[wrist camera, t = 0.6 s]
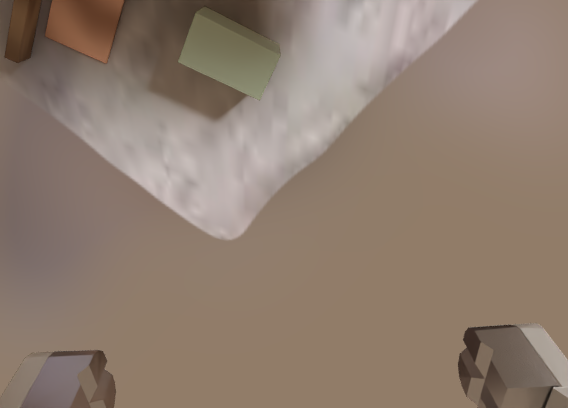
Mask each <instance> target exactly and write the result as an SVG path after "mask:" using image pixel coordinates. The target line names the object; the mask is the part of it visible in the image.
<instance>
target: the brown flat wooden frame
mask: <svg viewBox="0 0 568 408" xmlns="http://www.w3.org/2000/svg"><path fill="white" fill-rule="evenodd" d="M41 1H42V0H14V3H13V9H12V15H11V21H10V27H9V33H8V39H7V45H6V51H5V58H7V59H10V60H12V61H14V62H17V63H19V62H21V61H24V60H26V59H29V58H30V57H31V52H32V47H33V42H34V37H35V31H36V26H37V21H38V16H39V11H40V6H41ZM124 1H125V0H52V3H51V8H50V13H49V18H48V23H47V28H46V33H45V37H48V38H50V39H52V40H54V41H56V42H59V43H61V44H63V45H65V46H68V47H70V48H72V49H74V50H77V51H79V52H81V53H83V54H86V55H88V56H90V57H92V58H94V59H97V60H99V61H101V62H103V63H107V61H108V58H109V54H110V51H111V47H112V44H113V40H114V36H115V33H116V29H117V26H118V22H119V18H120V15H121V11H122V8H123V4H124Z"/></svg>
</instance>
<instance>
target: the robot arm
mask: <svg viewBox="0 0 568 408" xmlns="http://www.w3.org/2000/svg"><path fill="white" fill-rule="evenodd" d="M463 341H464V343H465V345H466V347H467V348H466V349H465V350H464V351H462V353H460V356H459V361H458V371H459V378H460V381H461V385H462V387H463V390H464V392H465V394H466V397H468V398H469V399H470V400H471V401H473V402H474V403H475V404H477V405H478V407H477V408H568V360H567V358H566V357H565V356H564V355H563V354H562V352H561V351H560V349H559V348H558V347H557V346H556V344H555V343H554V342H553V340H552V339H551V338H550V336H549V335H548V334H547V333H546V331H545V330H544V329H543V327H542V326H540V325H539V324H537V323H530V324H515V325H497V326H483V327H470V328H468V329H467V330H466V331H465V334H464V338H463ZM106 363H107V359H106V357H105V354H104V352H103V351H100V350H90V351H89V350H88V351H61V352H60V351H58V352H41V353H31V354H30V355H28V356H27V357H26V358H25V359H24V360H23V362H22V363H21V365H20V367H19V368H18V370H17V371H16V373H15V375H14V376H13V378H12V380H11V381H10V383H9V384H8V386H7V388H6V389H5V391H4V393H3V394H2V396H1V398H0V408H114V404H115V395H116V389H115V381H114V378H113V375H112V374H111V373H109V372H108V371H106V370H105V369H104V368H105V366H106Z"/></svg>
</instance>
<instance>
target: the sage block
mask: <svg viewBox="0 0 568 408" xmlns="http://www.w3.org/2000/svg"><path fill="white" fill-rule="evenodd" d="M280 56H281V55H280V47H279V44H278V43H276V42H274V41H272V40H270V39H268V38H266V37H264V36H262V35H260V34H258V33H256V32H254V31H252V30H250V29H248V28H246V27H244V26H242V25H240V24H238V23H236V22H234V21H232V20H230V19H229V18H227V17H225V16H223V15H221V14H219V13H217V12H215V11H213V10H211V9H209V8H207V7H205V6H204V7H203V8H201V9H200V10H199V11H197V12H196V13H195V15H194V18H193V21H192V24H191V27H190V29H189V32H188V35H187V38H186V41H185V43H184V46H183V49H182V52H181V55H180V58H179V60H178V63H181V64H183V65H185V66H187V67H189V68H191V69H193V70H195V71H198V72H200V73H202V74H204V75H206V76H208V77H210V78H213V79H215V80H217V81H219V82H221V83H223V84H225V85H228V86H230V87H232V88H234V89H236V90H238V91H240V92H242V93H245V94H247V95H249V96H251V97H253V98H255V99H257V100H260V99H261V97H262V94H263V92H264V90H265V88H266V86H267V84H268V82H269V79H270V77H271V75H272V73H273V71H274V69H275V66H276V64H277V62H278V60H279V58H280Z"/></svg>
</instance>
